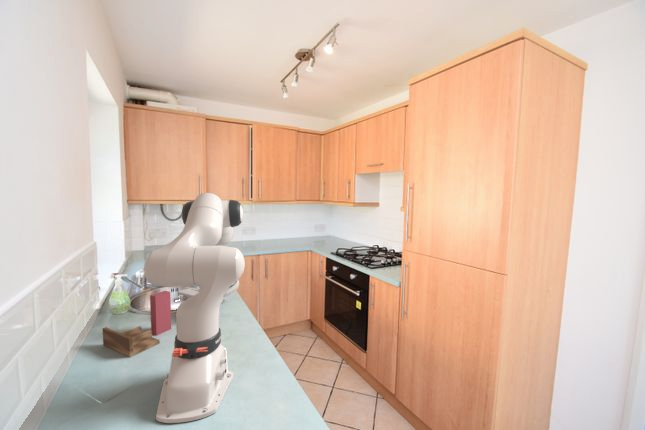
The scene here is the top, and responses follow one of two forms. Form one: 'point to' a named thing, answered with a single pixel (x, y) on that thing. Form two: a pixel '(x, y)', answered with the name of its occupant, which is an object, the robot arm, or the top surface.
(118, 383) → the top surface
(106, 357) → the top surface
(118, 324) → the top surface
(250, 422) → the top surface
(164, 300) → the red rectangular block
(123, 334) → the book rack
